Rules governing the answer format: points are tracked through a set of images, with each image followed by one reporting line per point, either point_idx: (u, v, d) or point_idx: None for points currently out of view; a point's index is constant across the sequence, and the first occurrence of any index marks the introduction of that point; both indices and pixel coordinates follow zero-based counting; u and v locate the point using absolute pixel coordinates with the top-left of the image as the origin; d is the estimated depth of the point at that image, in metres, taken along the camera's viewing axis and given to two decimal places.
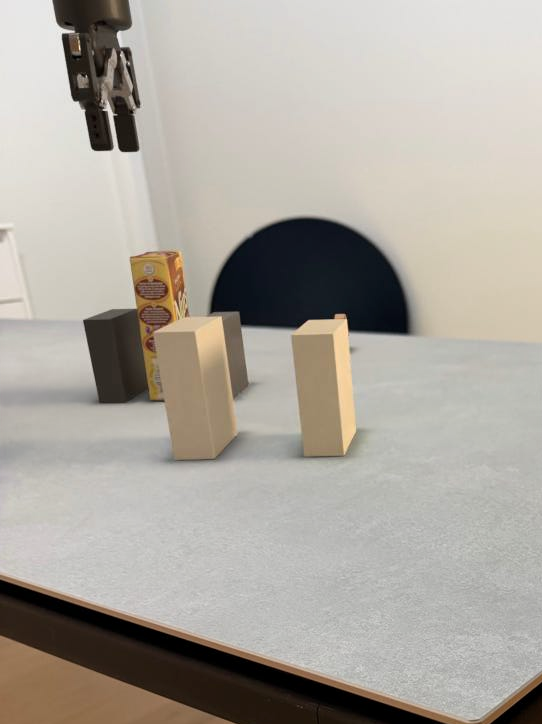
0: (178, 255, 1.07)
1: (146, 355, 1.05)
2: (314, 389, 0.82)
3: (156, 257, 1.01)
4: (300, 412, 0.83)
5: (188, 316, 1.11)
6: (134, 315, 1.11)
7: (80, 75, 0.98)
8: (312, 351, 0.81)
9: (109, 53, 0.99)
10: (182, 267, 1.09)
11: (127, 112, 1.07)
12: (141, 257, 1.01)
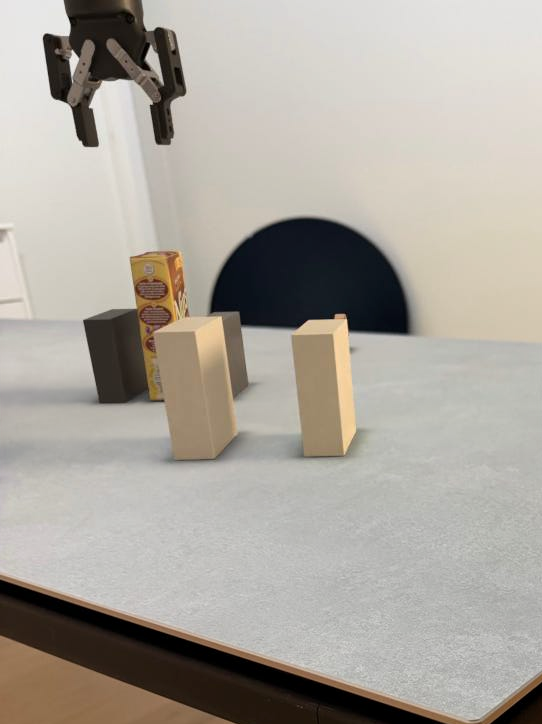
0: (178, 255, 1.07)
1: (146, 355, 1.05)
2: (314, 389, 0.82)
3: (156, 257, 1.01)
4: (300, 412, 0.83)
5: (188, 316, 1.11)
6: (134, 315, 1.11)
7: (139, 67, 0.97)
8: (312, 351, 0.81)
9: None
10: (182, 267, 1.09)
11: (87, 105, 1.01)
12: (141, 257, 1.01)
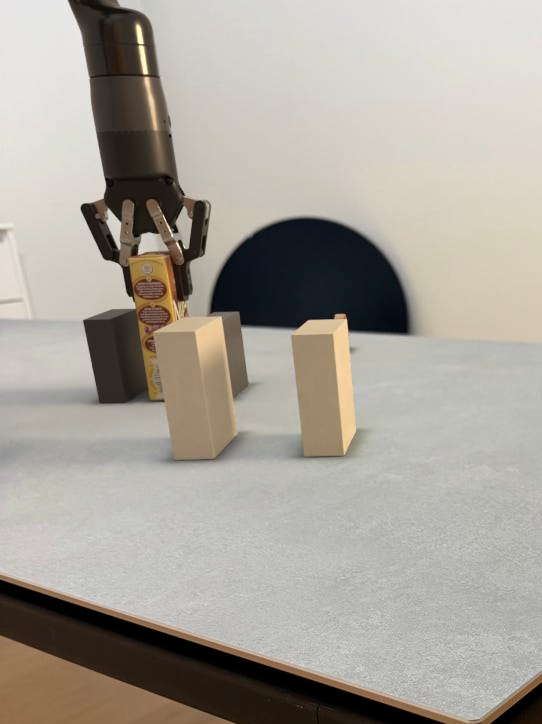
0: None
1: (145, 355, 1.05)
2: (314, 389, 0.82)
3: (154, 257, 1.01)
4: (300, 412, 0.83)
5: (187, 316, 1.11)
6: (134, 315, 1.11)
7: (171, 231, 1.03)
8: (312, 351, 0.81)
9: None
10: None
11: None
12: (139, 257, 1.01)
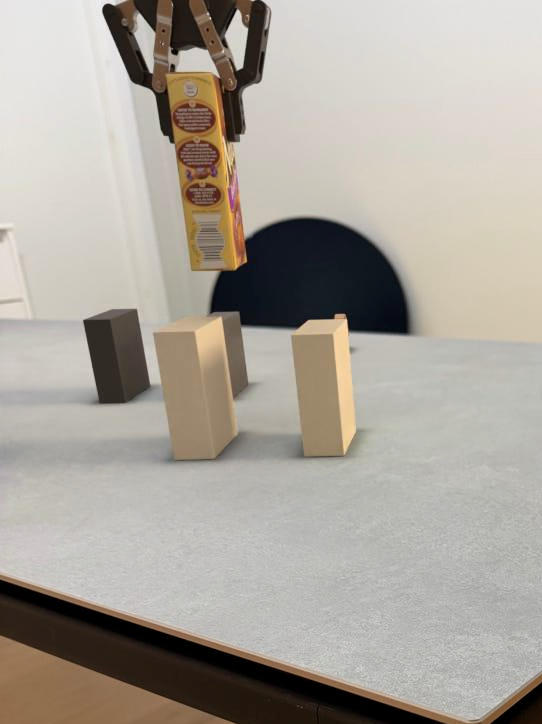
0: None
1: (186, 209, 0.81)
2: (314, 389, 0.82)
3: (200, 73, 0.77)
4: (300, 412, 0.83)
5: (235, 169, 0.87)
6: (134, 315, 1.11)
7: (220, 42, 0.79)
8: (312, 351, 0.81)
9: None
10: None
11: None
12: (180, 73, 0.77)
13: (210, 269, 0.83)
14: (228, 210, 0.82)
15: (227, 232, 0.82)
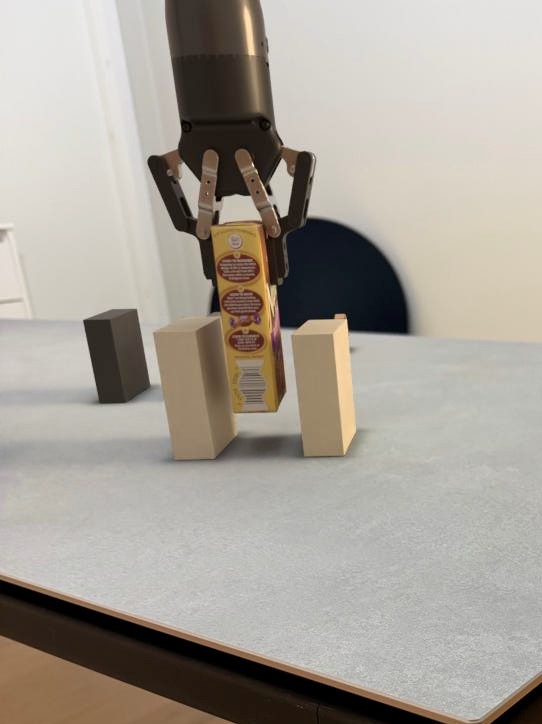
0: None
1: (229, 355, 0.81)
2: (314, 389, 0.82)
3: (245, 225, 0.77)
4: (300, 412, 0.83)
5: (277, 305, 0.87)
6: (134, 315, 1.11)
7: (265, 192, 0.78)
8: (312, 351, 0.81)
9: None
10: None
11: None
12: (225, 226, 0.76)
13: (252, 411, 0.83)
14: (271, 355, 0.81)
15: (270, 377, 0.82)
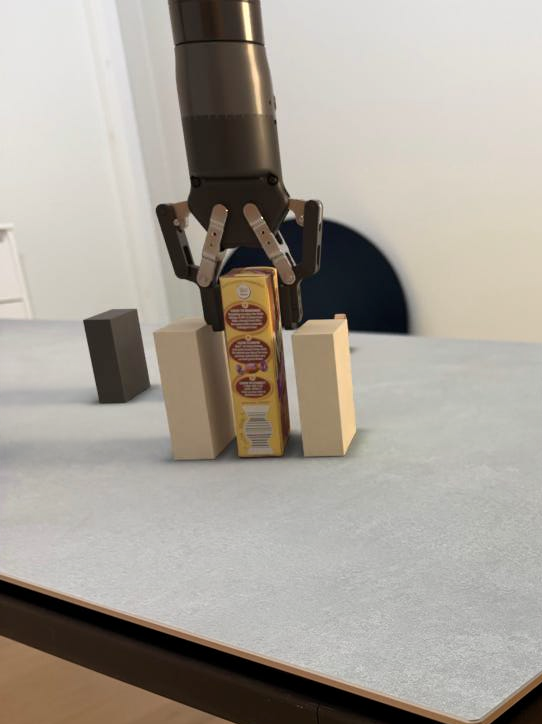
0: (274, 273, 0.84)
1: (236, 401, 0.82)
2: (314, 389, 0.82)
3: (253, 277, 0.78)
4: (300, 412, 0.83)
5: None
6: (134, 315, 1.11)
7: (276, 242, 0.80)
8: (312, 351, 0.81)
9: None
10: (277, 288, 0.86)
11: (215, 282, 0.83)
12: (234, 277, 0.78)
13: (257, 455, 0.85)
14: (277, 401, 0.83)
15: (276, 422, 0.83)
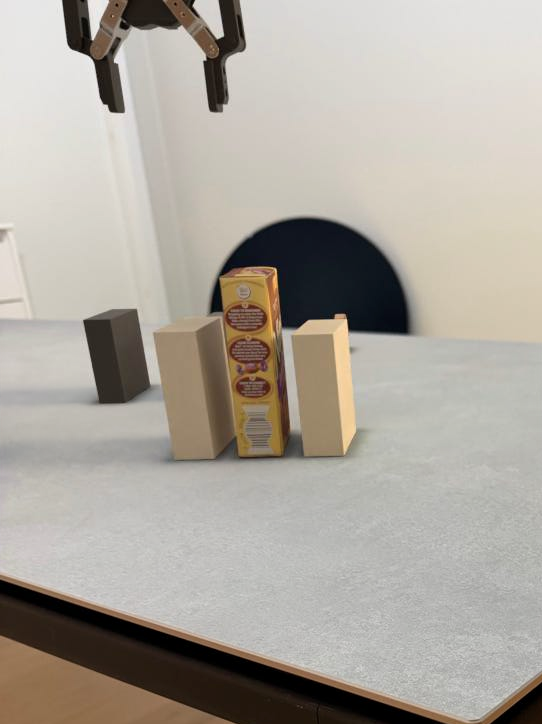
0: (274, 273, 0.84)
1: (236, 401, 0.82)
2: (314, 389, 0.82)
3: (253, 277, 0.78)
4: (300, 412, 0.83)
5: None
6: (134, 315, 1.11)
7: (191, 12, 0.77)
8: (312, 351, 0.81)
9: None
10: (277, 288, 0.86)
11: (112, 59, 0.80)
12: (234, 277, 0.78)
13: (257, 455, 0.85)
14: (277, 401, 0.83)
15: (276, 422, 0.83)
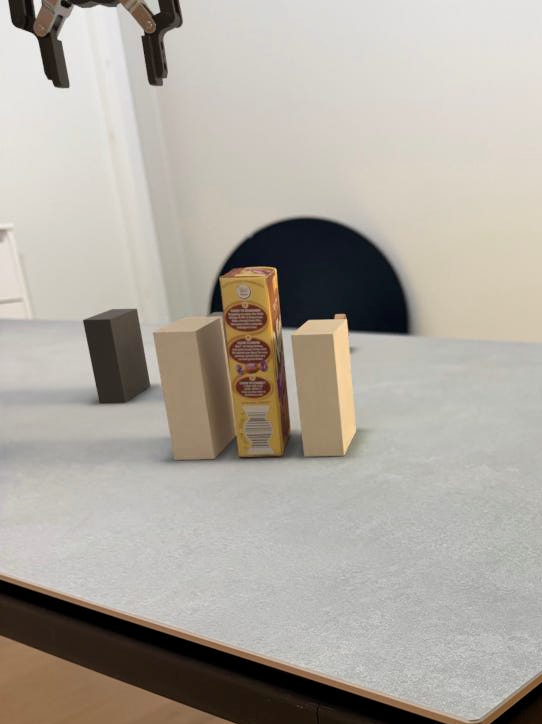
0: (274, 273, 0.84)
1: (236, 401, 0.82)
2: (314, 389, 0.82)
3: (253, 277, 0.78)
4: (300, 412, 0.83)
5: None
6: (134, 315, 1.11)
7: None
8: (312, 351, 0.81)
9: None
10: (277, 288, 0.86)
11: (55, 36, 0.84)
12: (234, 277, 0.78)
13: (257, 455, 0.85)
14: (277, 401, 0.83)
15: (276, 422, 0.83)
